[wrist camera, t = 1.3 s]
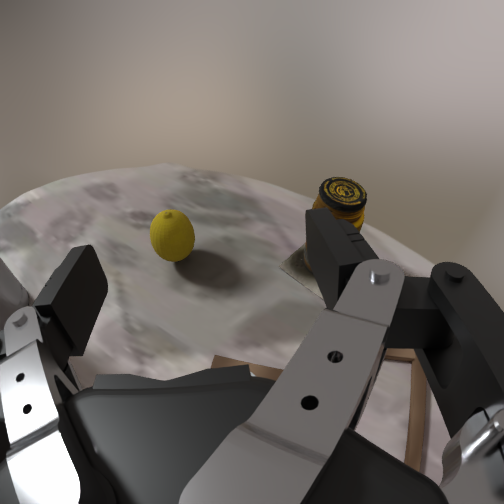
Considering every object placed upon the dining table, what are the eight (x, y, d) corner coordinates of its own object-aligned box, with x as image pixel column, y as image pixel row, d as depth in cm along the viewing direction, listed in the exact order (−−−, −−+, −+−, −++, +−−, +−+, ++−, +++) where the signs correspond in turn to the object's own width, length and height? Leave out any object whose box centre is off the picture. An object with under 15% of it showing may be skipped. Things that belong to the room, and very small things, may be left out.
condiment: (359, 260, 41) (385, 191, 32) (323, 300, 37) (347, 231, 28) (317, 233, 44) (331, 162, 35) (278, 267, 40) (285, 194, 31)
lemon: (190, 236, 44) (181, 191, 37) (204, 264, 40) (196, 219, 34) (153, 250, 42) (138, 207, 36) (164, 279, 39) (149, 236, 33)
